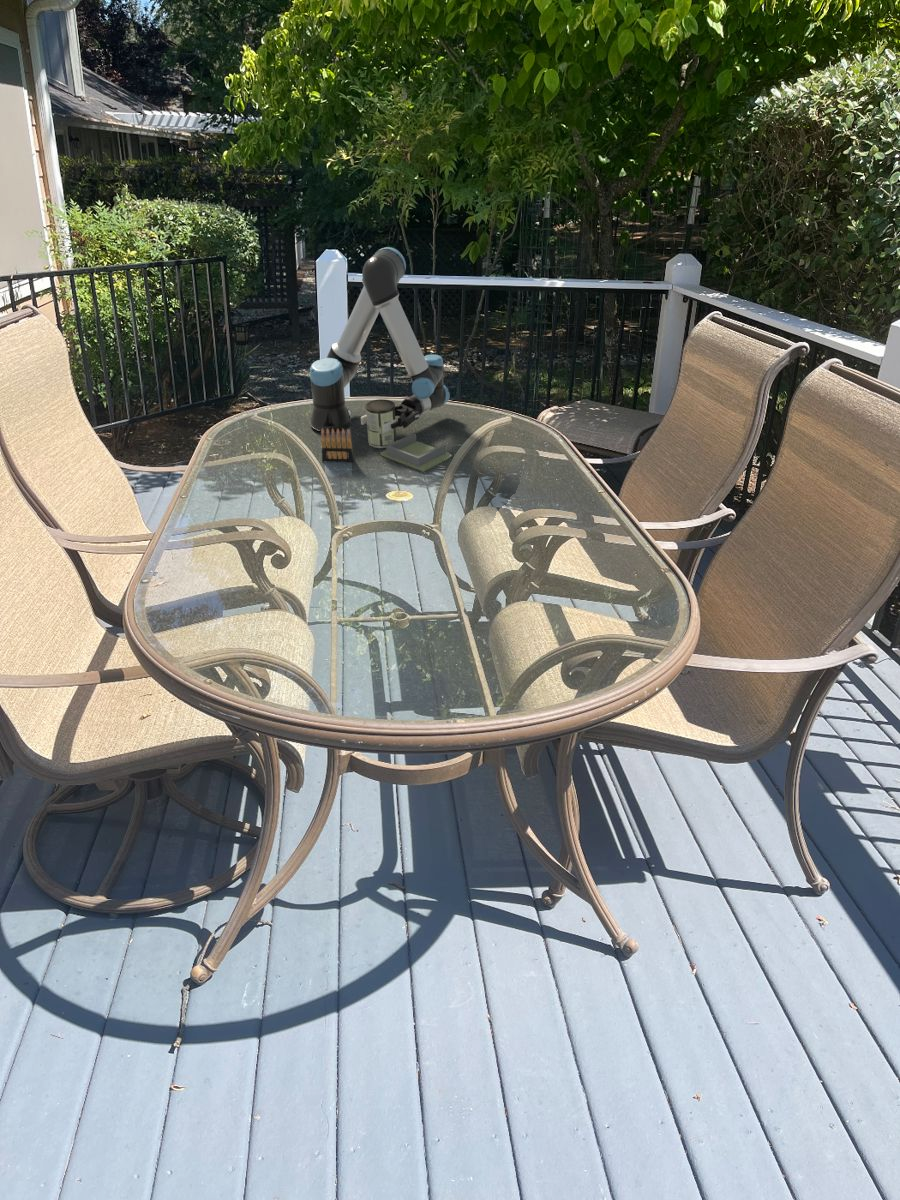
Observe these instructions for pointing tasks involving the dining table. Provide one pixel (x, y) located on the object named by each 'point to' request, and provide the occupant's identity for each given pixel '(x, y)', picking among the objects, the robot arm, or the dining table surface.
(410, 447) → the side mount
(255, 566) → the dining table surface
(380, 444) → the coffee can
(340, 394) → the robot arm
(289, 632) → the dining table surface
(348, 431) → the ammunition clip
